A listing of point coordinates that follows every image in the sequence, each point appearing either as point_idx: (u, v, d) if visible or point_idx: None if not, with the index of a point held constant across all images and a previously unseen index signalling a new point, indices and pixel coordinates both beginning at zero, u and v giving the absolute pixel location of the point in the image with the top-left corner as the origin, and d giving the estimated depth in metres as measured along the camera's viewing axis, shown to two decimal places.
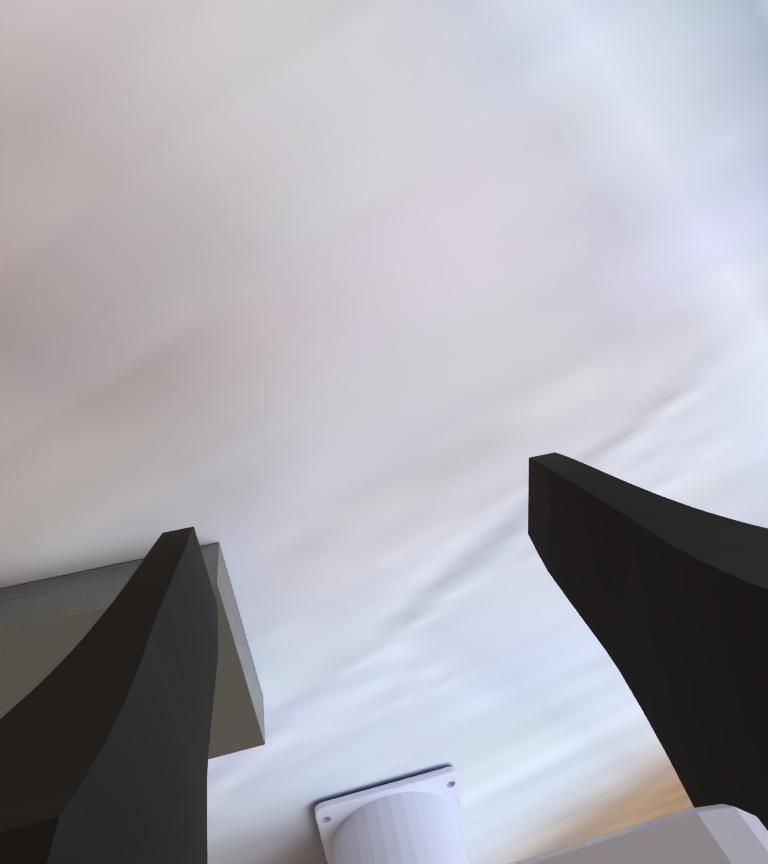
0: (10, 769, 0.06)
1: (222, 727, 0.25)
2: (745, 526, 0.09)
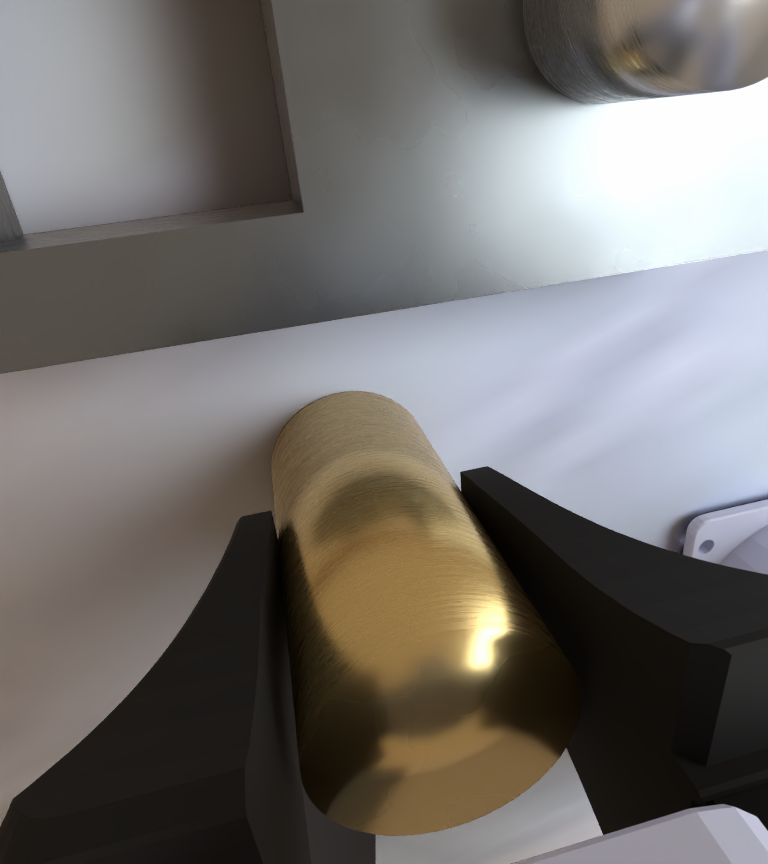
0: (167, 730, 0.06)
1: (722, 168, 0.11)
2: (650, 549, 0.08)
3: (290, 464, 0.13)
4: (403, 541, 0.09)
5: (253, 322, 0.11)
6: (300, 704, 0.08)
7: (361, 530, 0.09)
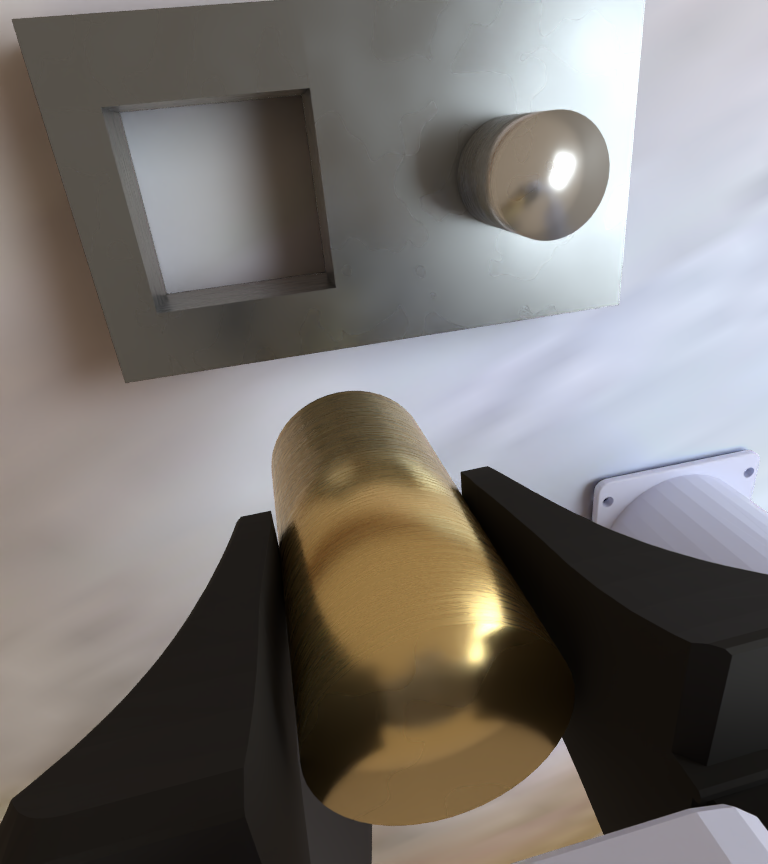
0: (166, 730, 0.06)
1: (582, 259, 0.19)
2: (651, 549, 0.08)
3: (290, 463, 0.13)
4: (399, 539, 0.09)
5: (305, 348, 0.18)
6: (300, 699, 0.08)
7: (358, 530, 0.10)
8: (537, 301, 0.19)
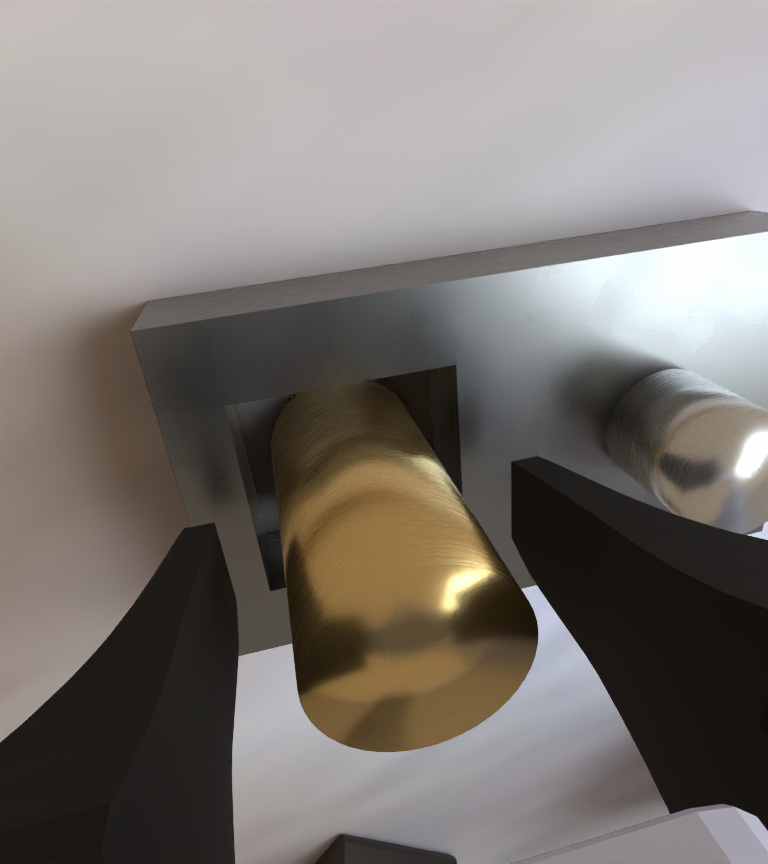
0: (54, 758, 0.06)
1: None
2: (720, 532, 0.09)
3: (286, 442, 0.14)
4: (381, 499, 0.10)
5: None
6: (296, 637, 0.09)
7: (346, 493, 0.11)
8: None
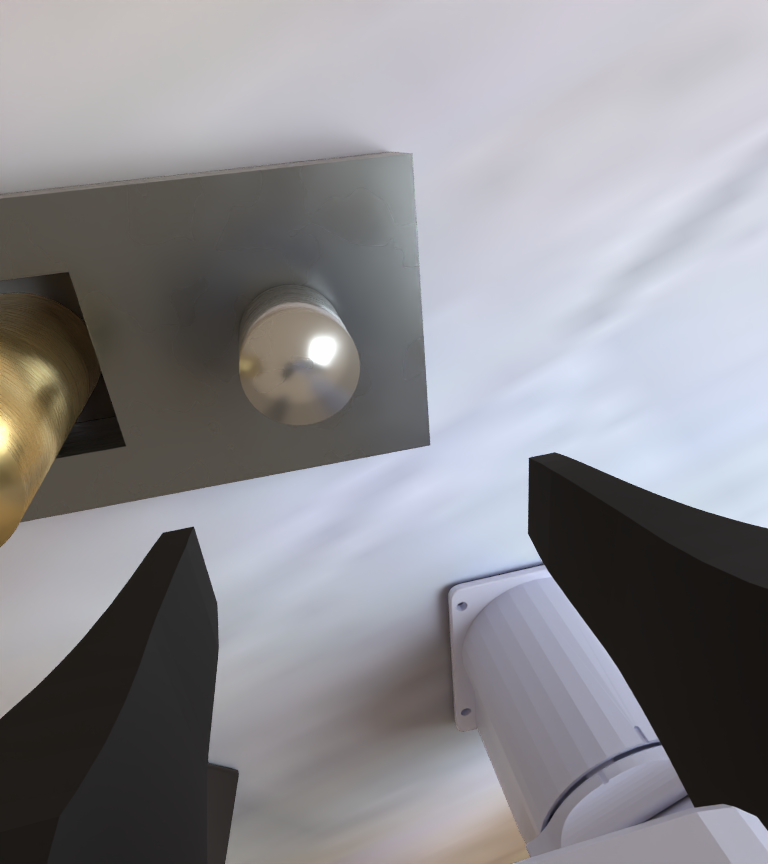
0: (11, 769, 0.06)
1: (384, 407, 0.19)
2: (745, 526, 0.09)
3: None
4: None
5: (102, 501, 0.18)
6: None
7: None
8: (343, 446, 0.19)
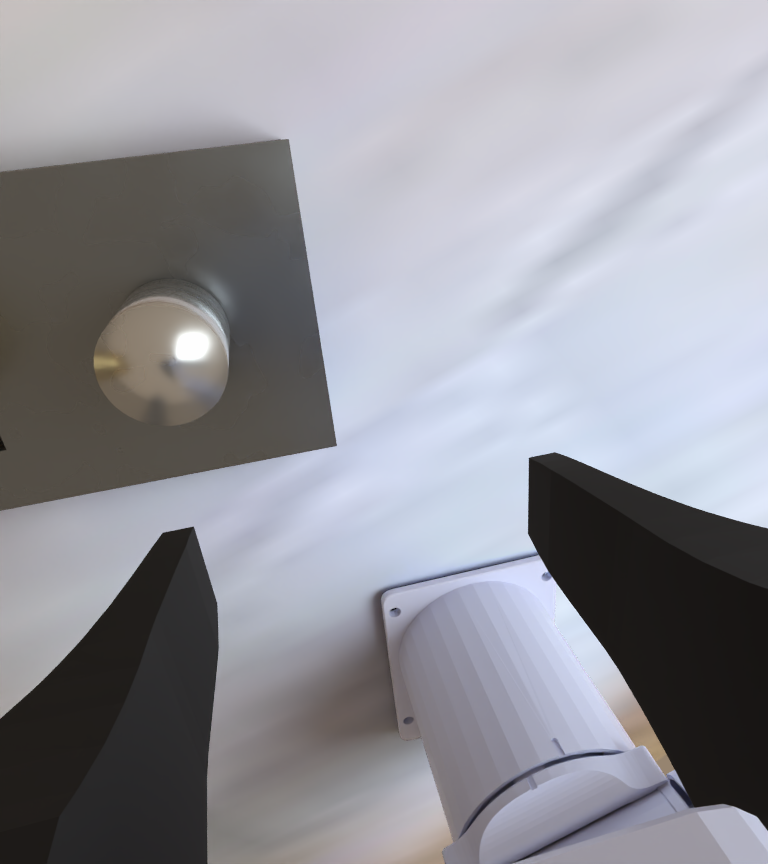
0: (10, 769, 0.06)
1: (282, 406, 0.18)
2: (745, 526, 0.09)
3: None
4: None
5: None
6: None
7: None
8: (242, 448, 0.19)
